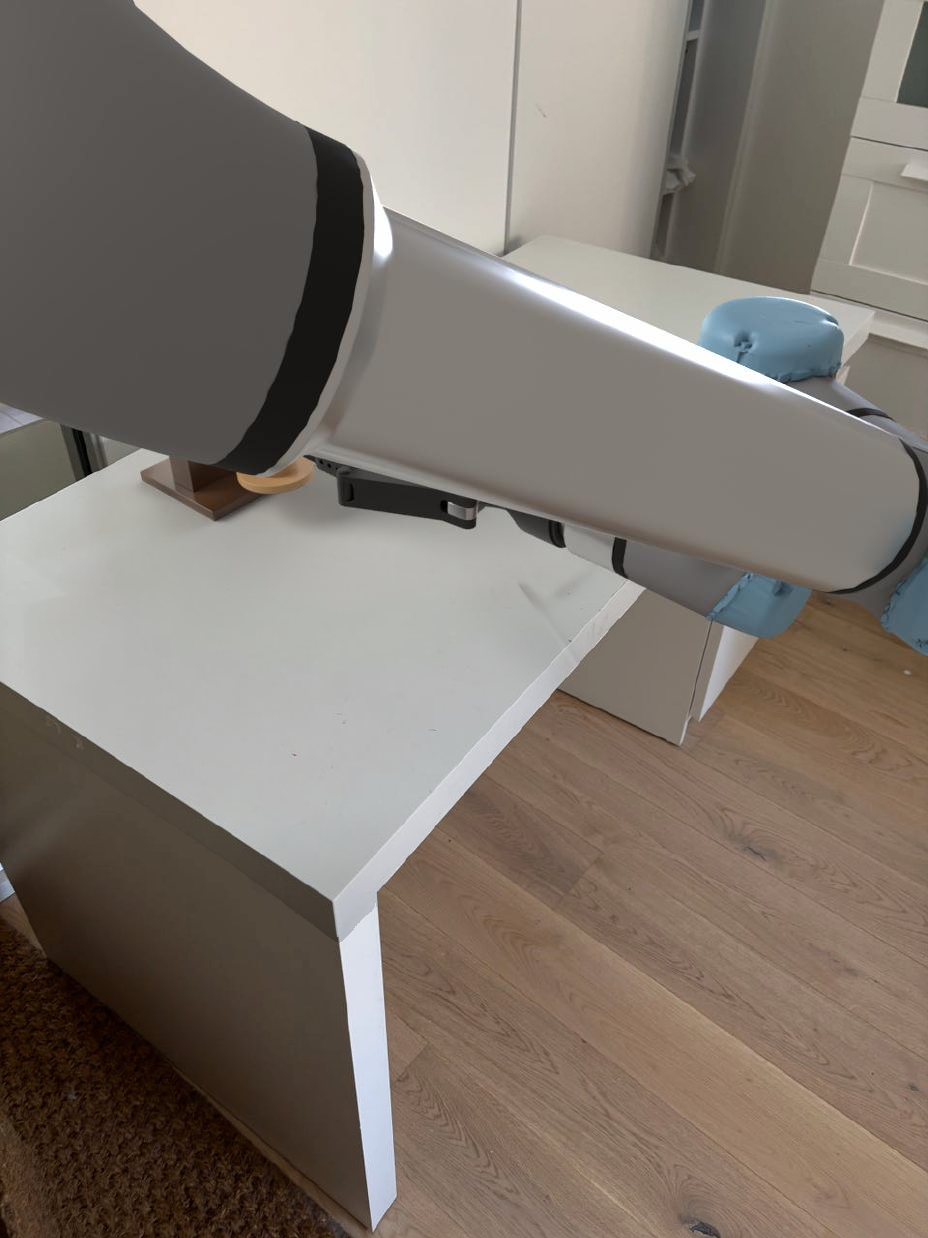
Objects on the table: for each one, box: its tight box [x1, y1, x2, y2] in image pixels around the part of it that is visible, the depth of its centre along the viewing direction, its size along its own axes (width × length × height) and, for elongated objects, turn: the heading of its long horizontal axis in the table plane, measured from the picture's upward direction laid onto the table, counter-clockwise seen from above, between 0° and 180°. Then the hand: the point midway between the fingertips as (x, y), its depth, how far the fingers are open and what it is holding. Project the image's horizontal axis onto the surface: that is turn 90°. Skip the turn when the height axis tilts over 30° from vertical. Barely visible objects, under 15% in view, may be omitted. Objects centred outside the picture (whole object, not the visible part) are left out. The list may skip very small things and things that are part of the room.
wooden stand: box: [139, 456, 265, 522], centre depth 89 cm, size 17×11×17 cm, turn 51°
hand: (359, 401), depth 75 cm, fingers open, 13 cm apart
